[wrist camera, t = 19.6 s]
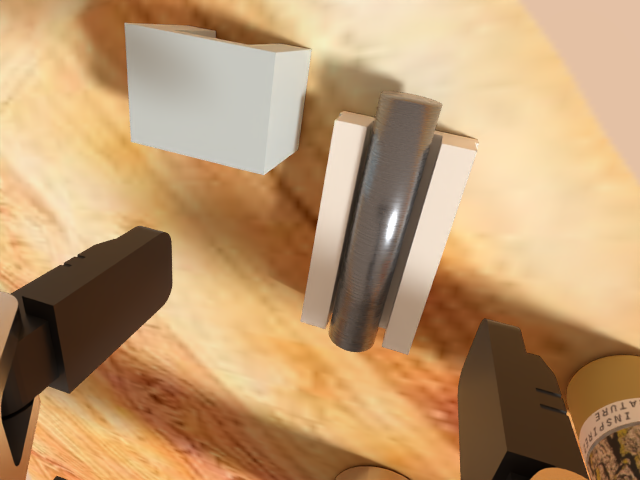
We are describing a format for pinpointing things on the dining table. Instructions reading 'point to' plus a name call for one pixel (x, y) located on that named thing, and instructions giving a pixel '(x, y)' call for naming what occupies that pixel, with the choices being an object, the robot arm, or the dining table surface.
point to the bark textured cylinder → (608, 416)
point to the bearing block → (215, 95)
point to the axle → (382, 214)
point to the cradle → (420, 238)
